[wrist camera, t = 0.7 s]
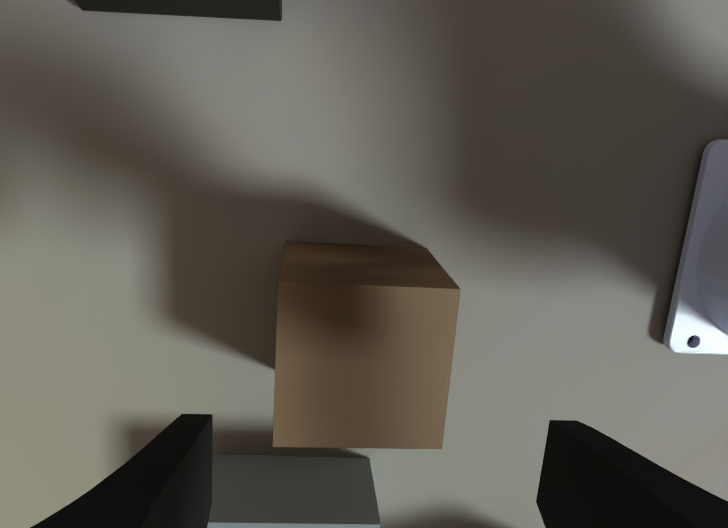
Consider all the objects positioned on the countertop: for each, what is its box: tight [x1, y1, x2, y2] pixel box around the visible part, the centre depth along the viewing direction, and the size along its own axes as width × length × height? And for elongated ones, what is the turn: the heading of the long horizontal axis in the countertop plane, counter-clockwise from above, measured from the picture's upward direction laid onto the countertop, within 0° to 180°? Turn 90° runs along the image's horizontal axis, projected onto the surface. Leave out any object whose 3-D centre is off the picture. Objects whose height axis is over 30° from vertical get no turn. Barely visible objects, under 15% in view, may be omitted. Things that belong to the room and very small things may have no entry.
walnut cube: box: [273, 241, 460, 449], centre depth 19 cm, size 5×5×5 cm
